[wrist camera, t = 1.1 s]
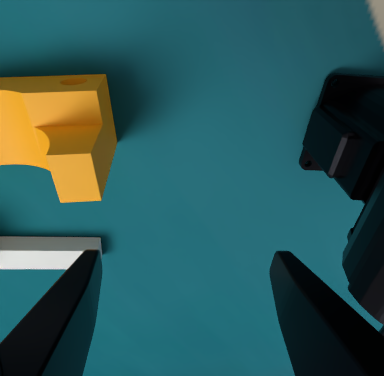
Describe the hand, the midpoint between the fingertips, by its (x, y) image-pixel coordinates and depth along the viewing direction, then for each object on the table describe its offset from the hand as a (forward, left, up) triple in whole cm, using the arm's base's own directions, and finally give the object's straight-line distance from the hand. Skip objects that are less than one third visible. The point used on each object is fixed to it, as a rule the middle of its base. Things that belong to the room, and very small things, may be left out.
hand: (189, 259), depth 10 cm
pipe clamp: (+10, 0, -12) cm, 16 cm away
